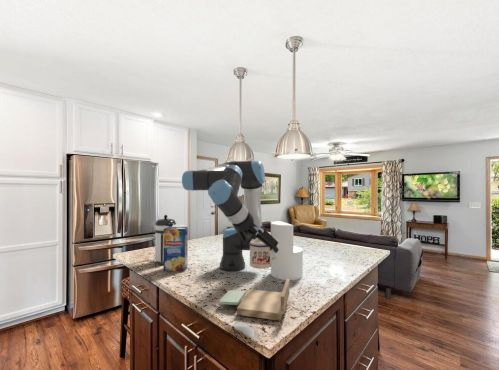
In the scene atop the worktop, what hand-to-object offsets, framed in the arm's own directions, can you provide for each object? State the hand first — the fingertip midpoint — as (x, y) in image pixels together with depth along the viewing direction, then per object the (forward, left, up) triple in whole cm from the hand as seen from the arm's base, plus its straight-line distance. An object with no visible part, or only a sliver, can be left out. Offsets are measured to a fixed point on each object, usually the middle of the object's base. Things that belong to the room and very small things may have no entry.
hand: (268, 253), depth 100 cm
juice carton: (-67, -4, -21) cm, 70 cm away
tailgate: (-7, -7, -18) cm, 20 cm away
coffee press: (-86, -2, -21) cm, 89 cm away
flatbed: (0, -3, -21) cm, 21 cm away
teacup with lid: (+1, -3, -4) cm, 5 cm away
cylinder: (-17, +35, -21) cm, 44 cm away
